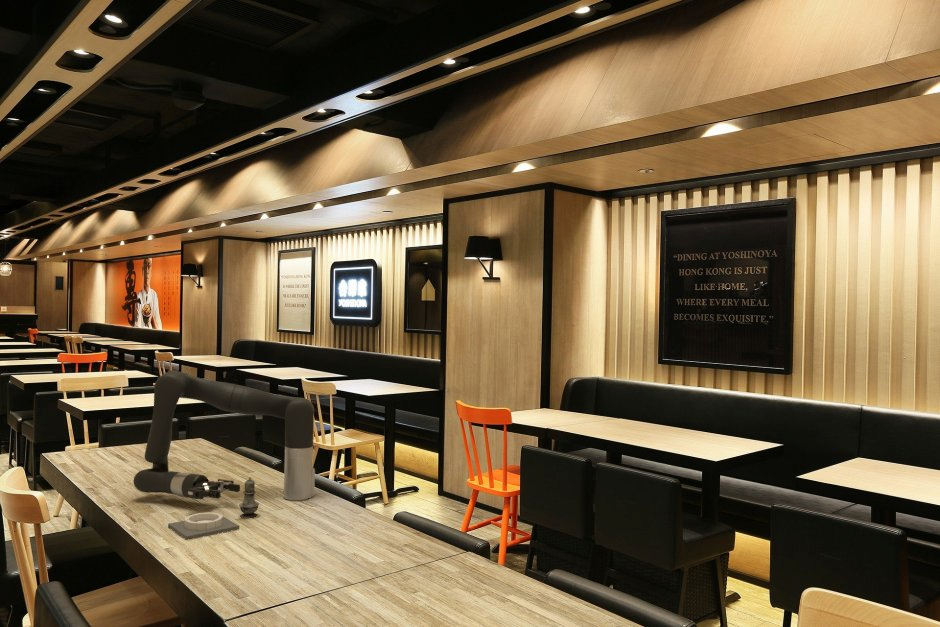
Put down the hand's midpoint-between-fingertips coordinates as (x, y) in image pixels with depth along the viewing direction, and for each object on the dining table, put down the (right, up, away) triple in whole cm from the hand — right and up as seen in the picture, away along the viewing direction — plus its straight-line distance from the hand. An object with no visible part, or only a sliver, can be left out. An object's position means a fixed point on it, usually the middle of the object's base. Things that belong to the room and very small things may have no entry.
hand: (229, 491), depth 211 cm
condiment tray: (-2, -6, -15) cm, 17 cm away
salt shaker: (+7, -7, -3) cm, 10 cm away
